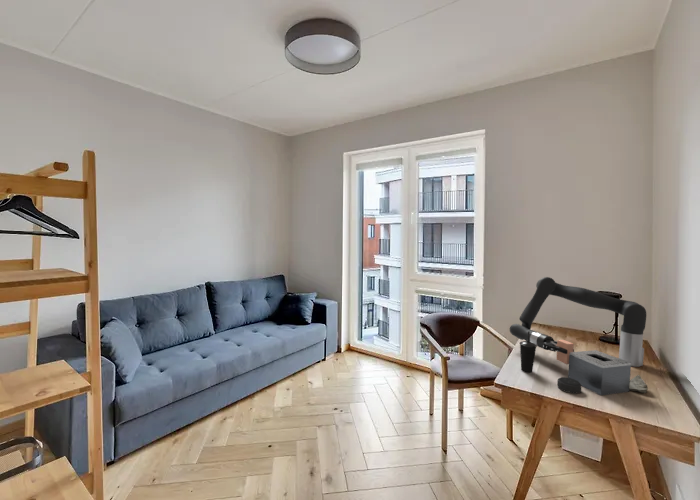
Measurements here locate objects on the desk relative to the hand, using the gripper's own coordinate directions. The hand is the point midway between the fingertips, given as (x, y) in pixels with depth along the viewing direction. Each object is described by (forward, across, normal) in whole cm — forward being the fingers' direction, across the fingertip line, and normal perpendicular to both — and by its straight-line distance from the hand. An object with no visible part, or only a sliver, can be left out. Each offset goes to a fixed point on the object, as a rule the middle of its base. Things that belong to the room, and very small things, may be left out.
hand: (570, 351), depth 164 cm
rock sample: (+20, +15, +12) cm, 28 cm away
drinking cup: (-8, -18, +11) cm, 22 cm away
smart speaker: (+13, -14, +12) cm, 22 cm away
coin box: (+12, +2, +12) cm, 17 cm away
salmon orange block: (-3, 0, +6) cm, 7 cm away
